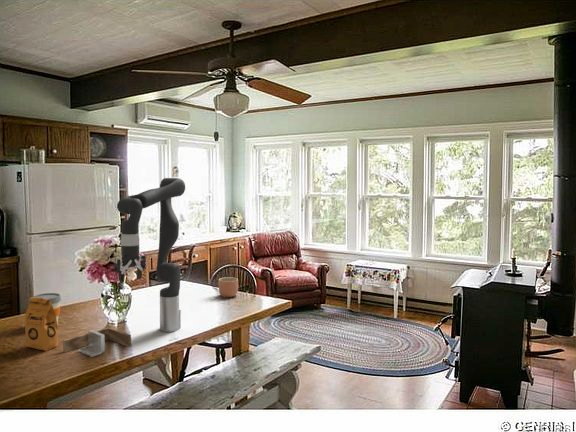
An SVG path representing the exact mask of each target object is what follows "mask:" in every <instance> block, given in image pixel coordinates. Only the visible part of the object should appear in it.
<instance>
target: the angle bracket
mask: <svg viewBox="0 0 576 432" xmlns="http://www.w3.org/2000/svg"><path fill="white" fill-rule="evenodd" d="M87 333H88V344H89V345H87V346H84V347H81V348H78V352H80V353H82V354H84V355H86V356H88V357H91V358H93V357H96V356H99V355H102V354H105V353H106V350H105V348H106V343H105V341H106V340H105V335H104V334H101V333H99V332H96V330H93V329H90V330H88V331H87Z"/></svg>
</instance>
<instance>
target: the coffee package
mask: <svg viewBox="0 0 576 432" xmlns="http://www.w3.org/2000/svg"><path fill="white" fill-rule="evenodd" d="M28 301H29V304H28V307H27V310H26V312H25V314H24V328H25V331H24V332H25V334H24V336H25V347H27V348H32V349H36V350H39V351H46V352H47V351H48V350H52V349H54V348H57V347H58V346H59V337H58V336H59V327H58V324H57V318H56V314H55V311H54V309H53V306H52V304H51V301H50V299H44V298H36V297H34V296H31V297H29V299H28Z"/></svg>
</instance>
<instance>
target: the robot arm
mask: <svg viewBox="0 0 576 432" xmlns="http://www.w3.org/2000/svg"><path fill="white" fill-rule="evenodd" d="M185 191H186V183H185V181H184V180H183V179H181V178H179V177H164V178H162V179H161V181H160V184H159V187H157V188H152V189H147V190H144V191H142V192H139V193H137V194H133V195H132V194H131V195H129V196H125V197H122V198H121V199H119V201H117V204H116V205H117V206H116V208H117V212H119V213H120V214H123V215H129V216H128V218H127V219H124V220H122V221H121V237H120V251H121V252H120V253H121V258H115V259H114V268H113V269H114V270H113V272H114V273H115V274H118V281H119V283H122V284H123V283H125V272H126V270H128V268H132V267H133V268H135V269H136V279H137V280H142V277H143V270H144V269H147V260H146V256H145V255H142V254H141V255H140V232H139V229H140V228H139V227H140V226H139V224H140V220H141V216H142V212H143V209H146V208H148V207H150V206H151V207H152V206H153V205H155V204H157V203H159V204H160V218H159V219H160V220H159V234H158V235H159V236H158V238H159V239H158V241H159V242H158V254H157V261H156V268H155V276H156V279H157V280H158V281H159V282H168V283H169V285H168V286H167V287H163V288H161V289H160V290H159V330H160V331H161V332H165V333H172V332H176V331H179V329H181V328H182V327H181V325H182V324H181V322H182V321H181V319H182V318H181V311H182V310H181V308H180V288H181V270H182V269H181V267H180V264H178V263H175V262H173V263H172V262H168V258H169V253H170V252H171V249H172V248H173V247H174V245H175V244H176V242H177V240H178V239H179V232H180V223H179V220H178V218H177V216H176V213H175V211H174V209H173V206H172V198H177V197H181V196H182V195H183V194H184V193H185Z"/></svg>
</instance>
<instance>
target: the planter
mask: <svg viewBox="0 0 576 432" xmlns="http://www.w3.org/2000/svg"><path fill="white" fill-rule="evenodd" d="M238 291H239V279H238V278H237V277H233V276H232V277H231V276H229V277H227V276H226V277H221V278H219V279H218V293H219V295H220V296H221V297H223V298H234V297H235V296H236V295H237V294H238Z"/></svg>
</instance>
